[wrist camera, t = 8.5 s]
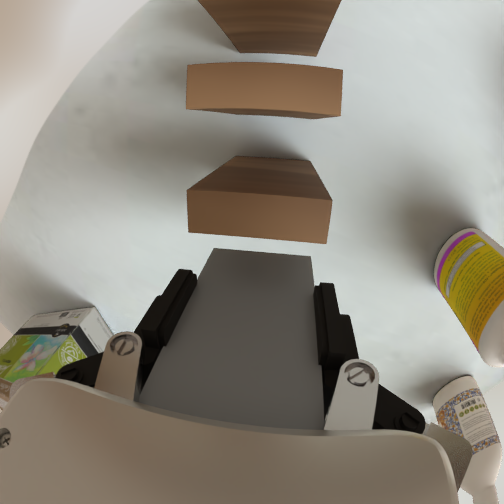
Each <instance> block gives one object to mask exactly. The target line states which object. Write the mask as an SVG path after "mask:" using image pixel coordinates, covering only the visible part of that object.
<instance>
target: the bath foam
mask: <svg viewBox="0 0 504 504" xmlns="http://www.w3.org/2000/svg"><path fill="white" fill-rule="evenodd" d="M433 407H434V410H435V414H436V417H437V421H438V424H439V426H440V427H442V428H444V429H446V430H448V431H450V432H452V433H454V434H456V435H458V436H460V437H462V438H464V439H466V440H467V441H469V442H470V444H471V445H472V449H473V453H472V458H471V461H470V463H469V466H468V469H467V471H466V474H465V476H464V479H463V481H462V483H461V486H460V487H461V488H462V489H463V490H465V491H466V492H468V493H469V494H471V495H472V496H473V503H474V504H499V502H498V498H497V492H496V487H495V481H496V478H497V475H498V472H499V469H500V466H501V460H502V447H501V443H500V440H499V437H498V434H497V431H496V428H495V426H494V423H493V420H492V418H491V415H490V413H489V410H488V408H487V405H486V403H485V400H484V398H483V396H482V393H481V391H480V389H479V387H478V384H477V382H476V380H475V379H474V378H473V377H471V376H464V377H460V378H458V379H455V380H453V381H452V382H450V383H448V384H447V385H446V386H444V387H443V388H442V389H441V390H440V391H439V392H438V393H437V394H436V396H435V397H434V399H433Z"/></svg>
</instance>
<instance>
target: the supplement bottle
mask: <svg viewBox="0 0 504 504" xmlns="http://www.w3.org/2000/svg"><path fill="white" fill-rule="evenodd" d="M434 279H435V283H436V286H437V288H438V290H439V291H440V293H441V294H442V296H443V297H444V298H445V300H446V301H447V303H448V304H449V306H450V307H451V309H452V310H453V312H454V313H455V315H456V316H457V318H458V319H459V321H460V322H461V324H462V326H463V327H464V329H465V330H466V332H467V334H468V335H469V337H470V339H471V340H472V342H473V344H474V345H475V347H476V349H477V351H478V352H479V354H480V356H481V358H482V359H483V361H484V362H485V363H486V364H488V365H489V366H492V367H504V248H503V247H502V246H500V245H499V244H498V243H497V242H496V241H494V240H493V239H492V238H491V237H489V236H488V235H487V234H485V233H484V232H482V231H481V230H478V229H474V228H468V229H464V230H461V231H459V232H457V233H456V234H454V235H453V236H451V237H450V238H449V239H448V240H447V242H446V243H445V244H444V245H443V247H442V248H441V250H440V252H439V254H438V256H437V259H436V263H435V267H434Z"/></svg>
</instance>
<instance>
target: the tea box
mask: <svg viewBox="0 0 504 504" xmlns="http://www.w3.org/2000/svg"><path fill="white" fill-rule="evenodd" d="M112 336H113V334H112V332H111V331H110V329H109V328H108V326H107V325H106V323H105V322H104V320H103V318H102V317H101V315H100V314H99V312H98V311H97V309H96V307H92V308H82V309H76V310H67V311H62V312H52V313H47V314H39V315H34V316H32V317H31V318H30V319H29V320H28V321H27V322H26V323H25V324H24V325H23V326H22V327H21V328H20V329H19V330H18V331H17V332H16V333H15V334H14V335H13V337H12V338H11V339H10V340H9V341H8V342H7V343H6V344H5V345H4V346H3V347H2V348H1V349H0V408H1V410H3V409H4V407H5V406H6V404H7V403H8V402H9V394H10V387H11V385H12V384H13V382H15V381H16V380H18V379H20V378H25V377H31V376H35V375H40V374H45V373H50V372H54V374H57V372H58V371H59V369H60V368H61V367H63V366H64V365H66V364H69V363H72V362H75V361H78V360H81V359H84V358H87V357H89V356H92V355H95V354H98V353H101V352H104V350H105V347H106V344H107V342H108V340H109V339H110V338H111V337H112Z"/></svg>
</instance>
